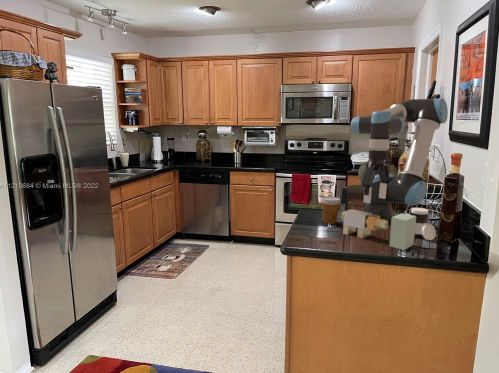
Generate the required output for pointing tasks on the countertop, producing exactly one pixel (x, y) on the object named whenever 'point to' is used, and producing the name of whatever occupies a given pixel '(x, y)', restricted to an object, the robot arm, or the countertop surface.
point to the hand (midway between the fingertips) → (374, 200)
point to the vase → (391, 170)
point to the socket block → (402, 231)
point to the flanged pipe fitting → (423, 224)
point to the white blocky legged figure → (356, 223)
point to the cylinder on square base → (373, 222)
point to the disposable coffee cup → (330, 209)
